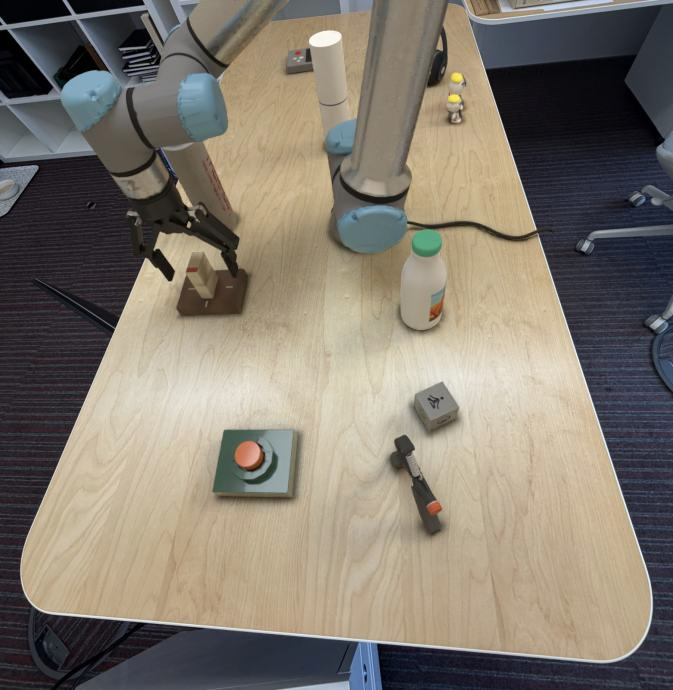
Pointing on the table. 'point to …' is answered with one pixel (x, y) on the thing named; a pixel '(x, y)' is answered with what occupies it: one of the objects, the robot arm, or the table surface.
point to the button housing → (271, 473)
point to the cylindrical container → (330, 78)
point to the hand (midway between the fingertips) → (203, 274)
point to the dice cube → (435, 406)
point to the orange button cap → (249, 455)
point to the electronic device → (299, 60)
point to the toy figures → (455, 97)
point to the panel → (224, 298)
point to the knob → (202, 275)
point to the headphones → (439, 61)
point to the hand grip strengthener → (417, 484)
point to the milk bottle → (423, 281)
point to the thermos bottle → (200, 179)
